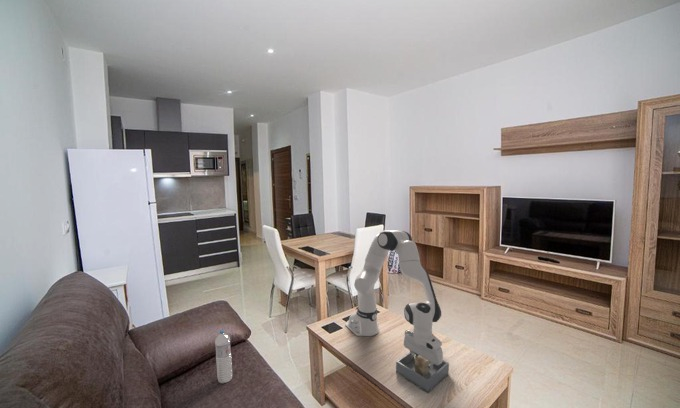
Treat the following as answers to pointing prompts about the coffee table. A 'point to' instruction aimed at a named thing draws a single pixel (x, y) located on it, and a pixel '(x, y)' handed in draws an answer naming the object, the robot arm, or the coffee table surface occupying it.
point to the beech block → (421, 365)
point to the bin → (426, 383)
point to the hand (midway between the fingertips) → (421, 363)
